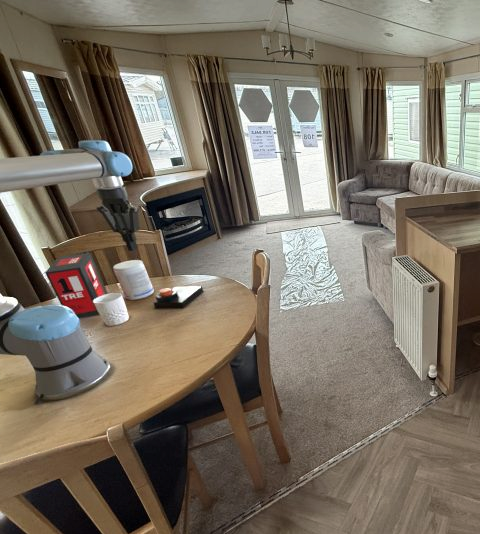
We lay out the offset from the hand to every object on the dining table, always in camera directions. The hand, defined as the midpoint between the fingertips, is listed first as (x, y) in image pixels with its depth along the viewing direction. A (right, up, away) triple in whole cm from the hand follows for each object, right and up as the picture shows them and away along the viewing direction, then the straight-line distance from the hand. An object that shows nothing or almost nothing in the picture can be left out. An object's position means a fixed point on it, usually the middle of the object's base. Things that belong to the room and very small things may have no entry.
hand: (133, 249), depth 128 cm
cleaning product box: (-23, -23, +7) cm, 34 cm away
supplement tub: (-12, -19, +17) cm, 28 cm away
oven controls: (+7, -21, +14) cm, 26 cm away
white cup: (-5, -27, -1) cm, 28 cm away
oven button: (+5, -18, +10) cm, 21 cm away
